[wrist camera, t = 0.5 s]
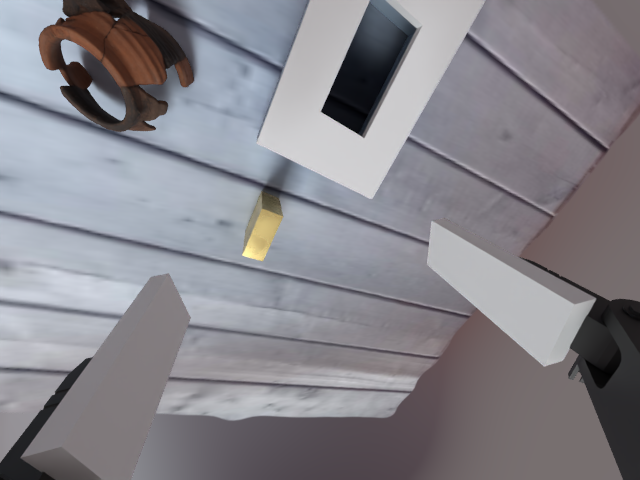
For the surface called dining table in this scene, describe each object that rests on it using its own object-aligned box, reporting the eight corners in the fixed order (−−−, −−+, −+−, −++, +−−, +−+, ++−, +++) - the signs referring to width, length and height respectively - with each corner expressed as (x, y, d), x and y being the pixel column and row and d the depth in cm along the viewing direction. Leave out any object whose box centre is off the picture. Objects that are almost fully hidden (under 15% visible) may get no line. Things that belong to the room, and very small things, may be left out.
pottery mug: (214, 111, 27) (165, 140, 21) (146, 114, 29) (85, 141, 23) (153, -57, 19) (46, -84, 13) (64, -36, 21) (-61, -50, 15)
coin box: (257, 136, 28) (256, 143, 20) (326, -49, 23) (367, -152, 14) (342, 178, 33) (371, 199, 24) (417, 32, 27) (490, -8, 19)
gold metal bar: (245, 230, 33) (242, 255, 27) (261, 191, 31) (262, 208, 25) (262, 235, 34) (262, 261, 28) (278, 198, 32) (283, 216, 26)
